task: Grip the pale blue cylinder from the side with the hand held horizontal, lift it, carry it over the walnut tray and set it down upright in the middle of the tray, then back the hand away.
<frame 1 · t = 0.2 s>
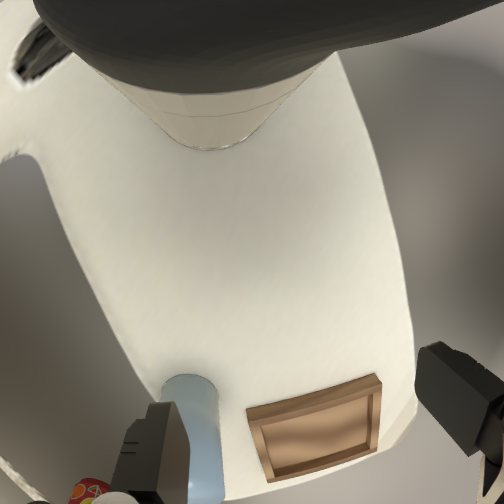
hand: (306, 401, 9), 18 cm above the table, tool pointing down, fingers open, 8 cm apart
tray: (316, 429, 32), on the table
smoothie: (99, 487, 32), on the table
pale blue cylinder: (189, 396, 29), on the table
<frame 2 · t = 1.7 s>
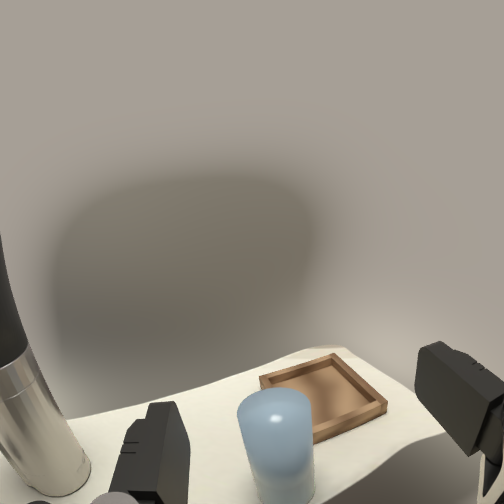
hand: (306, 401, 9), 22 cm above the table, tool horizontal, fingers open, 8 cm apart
tray: (319, 401, 38), on the table
pale blue cylinder: (286, 490, 25), on the table
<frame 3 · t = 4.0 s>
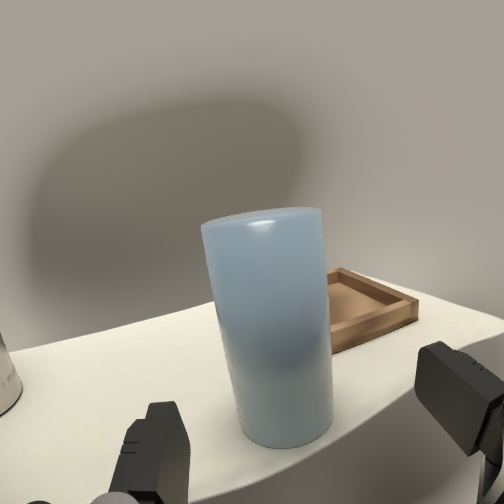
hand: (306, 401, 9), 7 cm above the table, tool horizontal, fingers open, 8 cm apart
tray: (326, 314, 31), on the table
pale blue cylinder: (286, 416, 17), on the table
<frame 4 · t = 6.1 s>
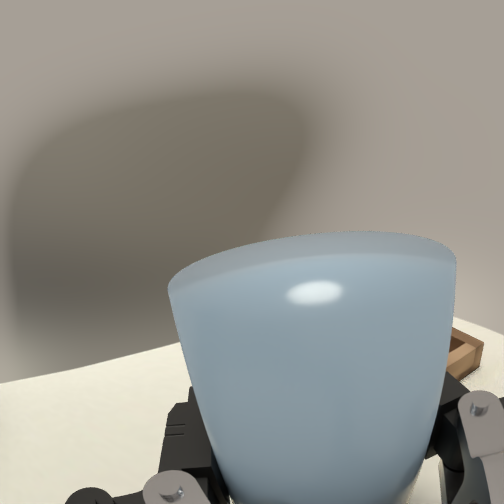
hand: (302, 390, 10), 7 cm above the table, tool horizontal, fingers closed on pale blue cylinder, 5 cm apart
tray: (362, 358, 22), on the table
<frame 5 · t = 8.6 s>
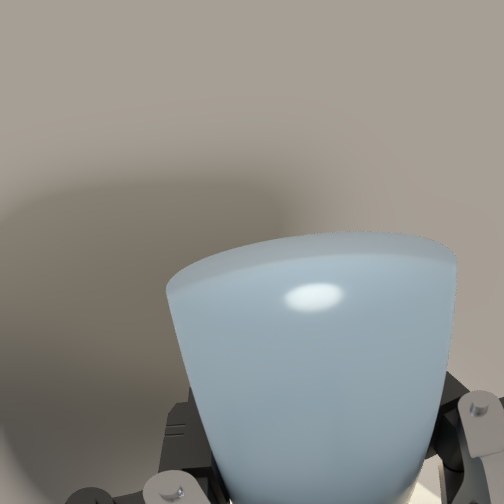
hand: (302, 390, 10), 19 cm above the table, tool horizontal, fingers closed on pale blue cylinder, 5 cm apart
when the fingers open (9 cm above the table, at t = 11.2 s): pale blue cylinder drops 1 cm, resting on tray.
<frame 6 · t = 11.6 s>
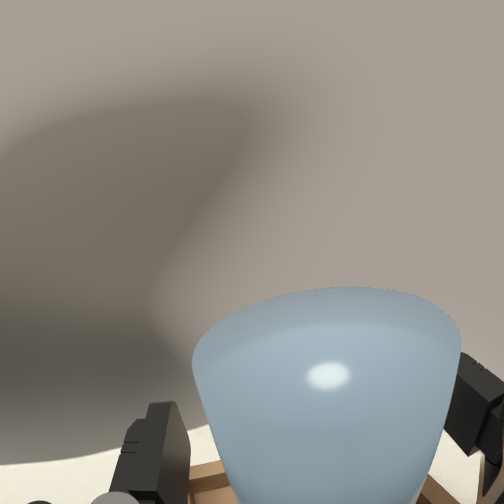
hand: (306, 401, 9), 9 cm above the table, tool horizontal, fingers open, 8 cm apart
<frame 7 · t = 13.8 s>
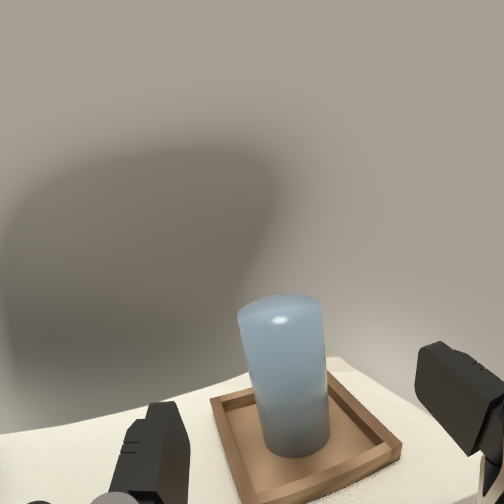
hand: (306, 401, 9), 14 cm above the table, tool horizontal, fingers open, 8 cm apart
tray: (295, 439, 24), on the table
pale blue cylinder: (297, 434, 24), point 1 cm above the table, touching tray
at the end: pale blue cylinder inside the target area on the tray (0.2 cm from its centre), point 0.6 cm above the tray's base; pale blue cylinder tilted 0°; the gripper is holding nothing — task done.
